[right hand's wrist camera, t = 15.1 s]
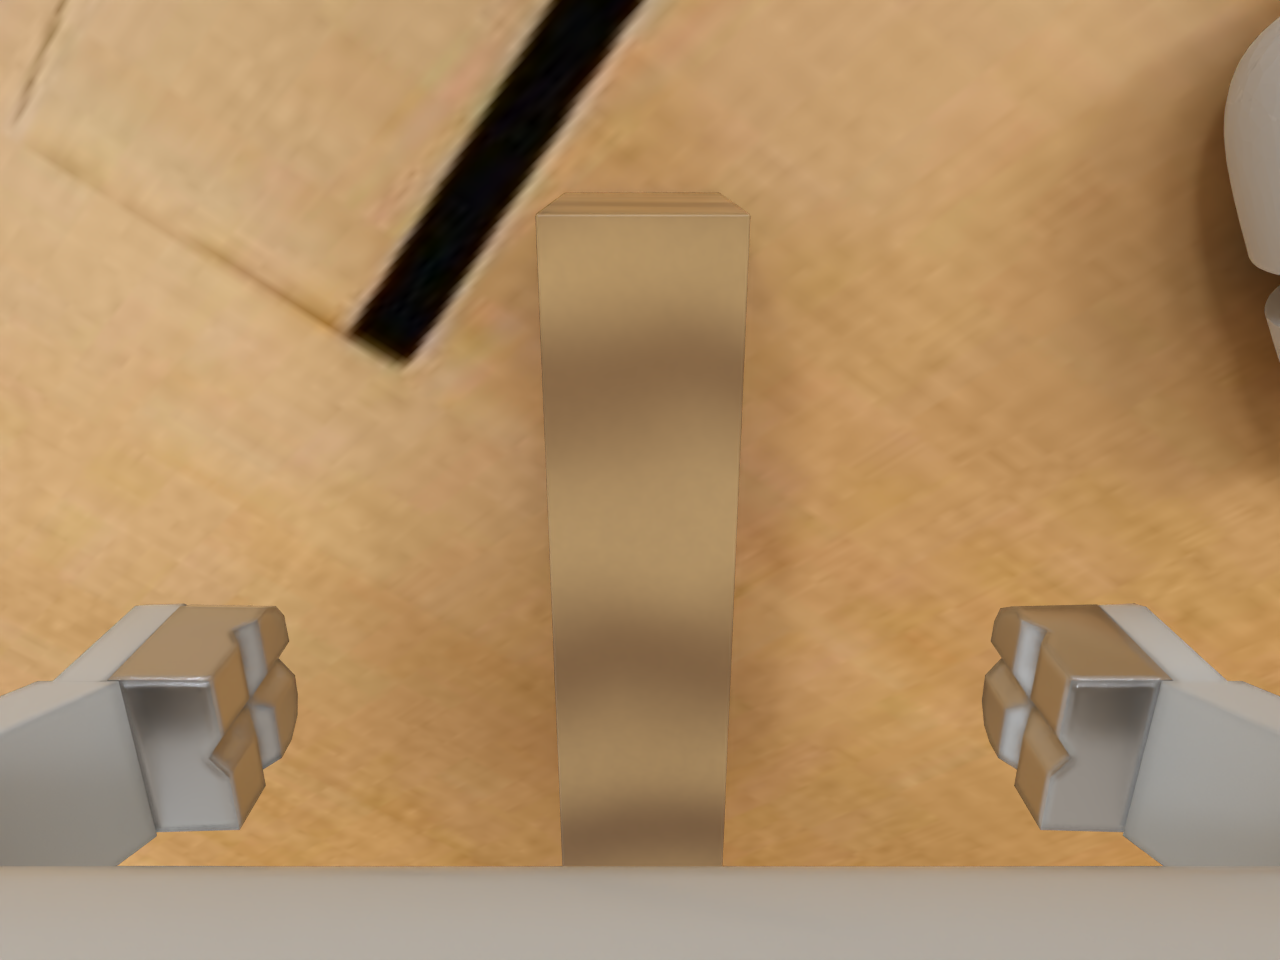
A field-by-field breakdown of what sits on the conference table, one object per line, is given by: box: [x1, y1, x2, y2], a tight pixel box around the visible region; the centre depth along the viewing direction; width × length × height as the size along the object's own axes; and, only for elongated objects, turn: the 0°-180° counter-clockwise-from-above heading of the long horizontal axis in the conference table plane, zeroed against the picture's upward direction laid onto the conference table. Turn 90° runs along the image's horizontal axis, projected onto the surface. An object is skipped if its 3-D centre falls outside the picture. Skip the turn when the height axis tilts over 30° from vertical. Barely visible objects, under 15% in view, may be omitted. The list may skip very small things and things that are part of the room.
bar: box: [535, 193, 750, 866], centre depth 32 cm, size 26×6×9 cm, turn 0°
